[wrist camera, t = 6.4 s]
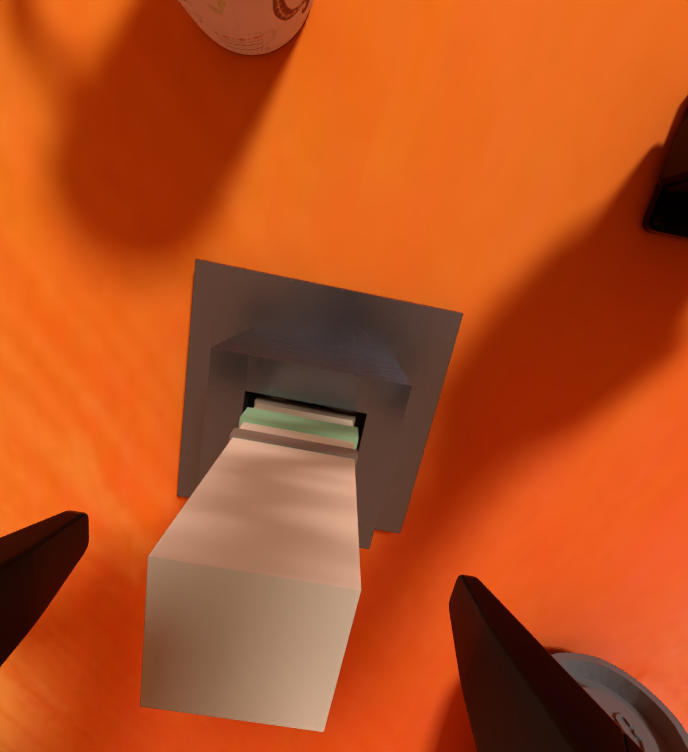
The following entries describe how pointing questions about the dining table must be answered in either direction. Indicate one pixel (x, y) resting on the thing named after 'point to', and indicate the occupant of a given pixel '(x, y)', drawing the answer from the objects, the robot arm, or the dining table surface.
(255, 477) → the column
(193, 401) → the stand base
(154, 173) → the dining table surface
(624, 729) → the bluetooth speaker
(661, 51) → the dining table surface
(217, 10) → the mug
